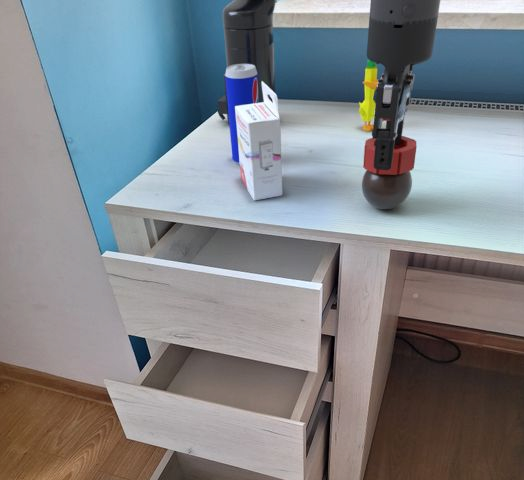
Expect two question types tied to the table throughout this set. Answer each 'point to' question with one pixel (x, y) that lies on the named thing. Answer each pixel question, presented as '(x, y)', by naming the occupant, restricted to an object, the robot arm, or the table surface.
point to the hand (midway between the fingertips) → (387, 156)
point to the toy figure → (369, 95)
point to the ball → (386, 189)
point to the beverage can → (239, 96)
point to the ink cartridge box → (260, 146)
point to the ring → (401, 157)
